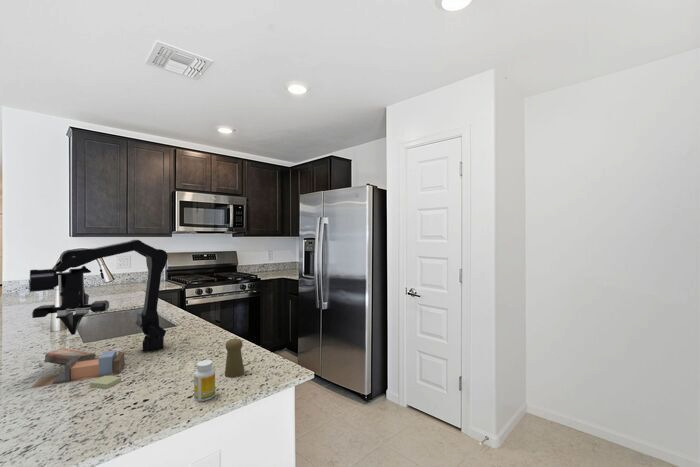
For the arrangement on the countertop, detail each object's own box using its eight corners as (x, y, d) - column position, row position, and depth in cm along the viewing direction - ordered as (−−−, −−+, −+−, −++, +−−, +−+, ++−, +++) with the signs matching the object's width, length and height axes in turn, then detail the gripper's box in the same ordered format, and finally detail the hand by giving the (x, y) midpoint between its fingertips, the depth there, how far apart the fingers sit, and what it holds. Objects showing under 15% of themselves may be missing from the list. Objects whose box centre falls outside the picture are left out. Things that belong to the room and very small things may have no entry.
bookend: (78, 370, 105) (78, 355, 105) (69, 381, 98) (69, 364, 98) (62, 373, 104) (62, 357, 104) (52, 384, 96) (52, 367, 96)
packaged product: (37, 354, 112) (70, 344, 122) (37, 368, 112) (70, 357, 122) (71, 360, 106) (103, 349, 116) (72, 375, 106) (103, 363, 116)
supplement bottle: (190, 401, 88) (189, 366, 88) (201, 391, 94) (200, 358, 94) (208, 402, 88) (208, 367, 88) (219, 392, 93) (218, 359, 93)
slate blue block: (116, 366, 109) (116, 350, 109) (112, 373, 104) (112, 356, 103) (103, 368, 107) (103, 351, 107) (98, 375, 102) (98, 358, 102)
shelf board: (124, 367, 111) (124, 351, 111) (119, 377, 103) (118, 360, 103) (42, 380, 102) (42, 362, 102) (29, 392, 94) (29, 373, 94)
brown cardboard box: (103, 368, 107) (103, 358, 107) (99, 375, 102) (98, 364, 102) (77, 372, 104) (76, 362, 104) (70, 379, 99) (70, 368, 99)
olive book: (121, 386, 98) (121, 377, 98) (107, 393, 93) (107, 384, 93) (104, 384, 99) (104, 375, 99) (90, 392, 95) (90, 382, 95)
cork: (248, 370, 107) (247, 337, 107) (236, 378, 102) (235, 343, 101) (233, 368, 109) (232, 335, 109) (220, 376, 104) (219, 341, 103)
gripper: (112, 281, 119) (113, 324, 119) (46, 286, 111) (47, 331, 111) (104, 286, 109) (105, 333, 109) (30, 291, 101) (32, 341, 101)
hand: (73, 334), depth 108 cm, fingers closed
